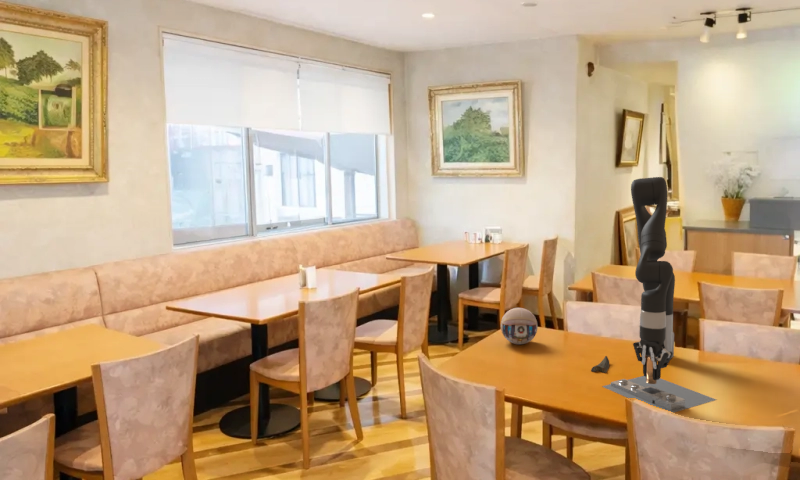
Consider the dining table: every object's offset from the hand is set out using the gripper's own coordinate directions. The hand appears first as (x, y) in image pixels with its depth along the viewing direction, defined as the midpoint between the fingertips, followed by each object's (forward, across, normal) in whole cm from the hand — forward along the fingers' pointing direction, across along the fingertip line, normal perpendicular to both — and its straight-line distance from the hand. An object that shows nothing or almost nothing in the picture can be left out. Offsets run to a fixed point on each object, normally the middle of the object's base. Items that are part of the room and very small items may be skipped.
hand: (651, 377), depth 192 cm
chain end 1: (+7, +5, 0) cm, 9 cm away
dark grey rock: (+8, +29, -7) cm, 31 cm away
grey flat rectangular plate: (+7, +2, -5) cm, 9 cm away
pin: (+2, 0, 0) cm, 2 cm away
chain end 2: (+7, -3, 0) cm, 8 cm away
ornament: (+7, +68, 0) cm, 68 cm away
